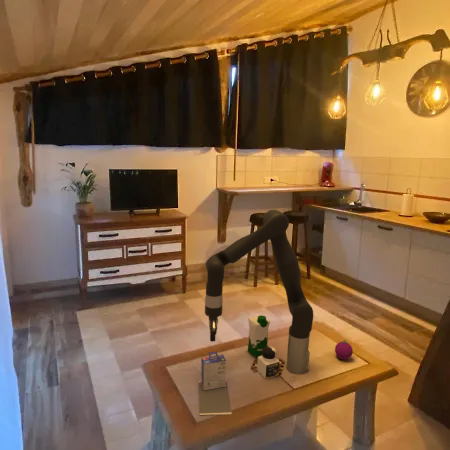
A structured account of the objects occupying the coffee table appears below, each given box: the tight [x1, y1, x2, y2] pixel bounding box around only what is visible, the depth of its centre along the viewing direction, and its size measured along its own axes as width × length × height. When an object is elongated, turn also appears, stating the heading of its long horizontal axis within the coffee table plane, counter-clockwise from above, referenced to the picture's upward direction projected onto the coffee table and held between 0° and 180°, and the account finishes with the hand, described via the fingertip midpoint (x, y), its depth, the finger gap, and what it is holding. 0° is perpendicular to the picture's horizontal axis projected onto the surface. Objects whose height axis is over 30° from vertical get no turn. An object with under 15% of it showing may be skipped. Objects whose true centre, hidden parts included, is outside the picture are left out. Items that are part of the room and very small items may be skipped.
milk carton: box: [247, 314, 271, 359], centre depth 179 cm, size 9×9×20 cm
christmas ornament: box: [334, 339, 354, 360], centre depth 178 cm, size 8×8×10 cm
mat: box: [198, 379, 232, 417], centre depth 148 cm, size 12×20×1 cm, turn 5°
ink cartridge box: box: [200, 351, 227, 390], centre depth 154 cm, size 10×6×14 cm, turn 107°
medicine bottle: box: [256, 345, 280, 380], centre depth 164 cm, size 7×7×12 cm
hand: (212, 340), depth 161 cm, fingers closed
